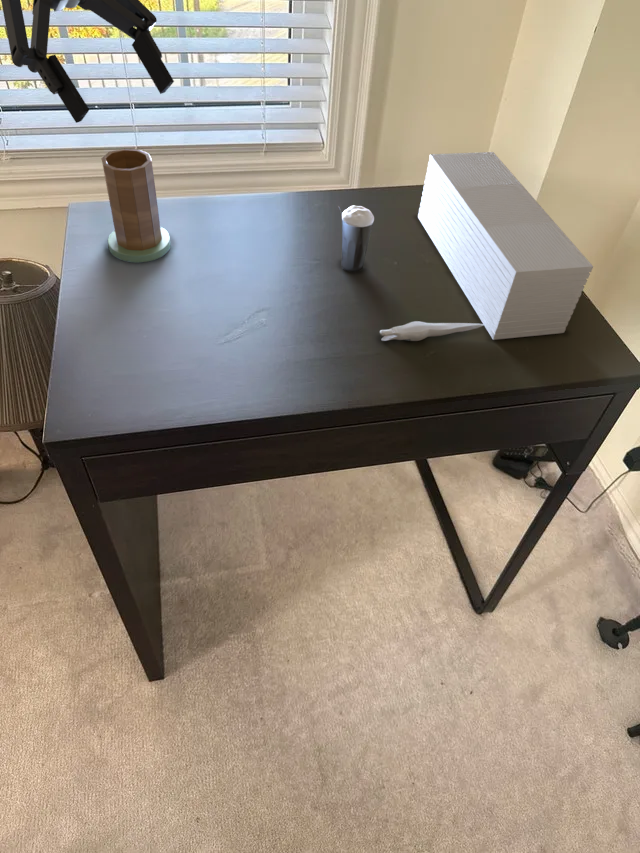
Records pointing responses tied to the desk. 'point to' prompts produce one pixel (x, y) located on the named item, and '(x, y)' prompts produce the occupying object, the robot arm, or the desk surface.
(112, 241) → the holder
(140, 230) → the tube
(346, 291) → the desk surface
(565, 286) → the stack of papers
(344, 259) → the milkshake
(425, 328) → the white tapered spindle
